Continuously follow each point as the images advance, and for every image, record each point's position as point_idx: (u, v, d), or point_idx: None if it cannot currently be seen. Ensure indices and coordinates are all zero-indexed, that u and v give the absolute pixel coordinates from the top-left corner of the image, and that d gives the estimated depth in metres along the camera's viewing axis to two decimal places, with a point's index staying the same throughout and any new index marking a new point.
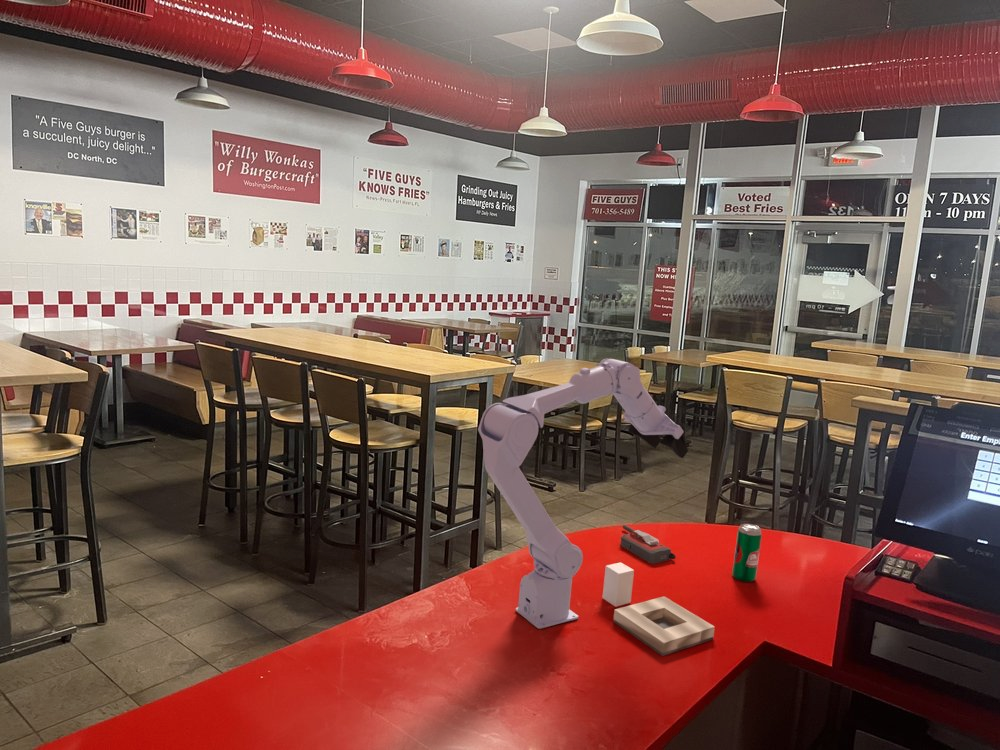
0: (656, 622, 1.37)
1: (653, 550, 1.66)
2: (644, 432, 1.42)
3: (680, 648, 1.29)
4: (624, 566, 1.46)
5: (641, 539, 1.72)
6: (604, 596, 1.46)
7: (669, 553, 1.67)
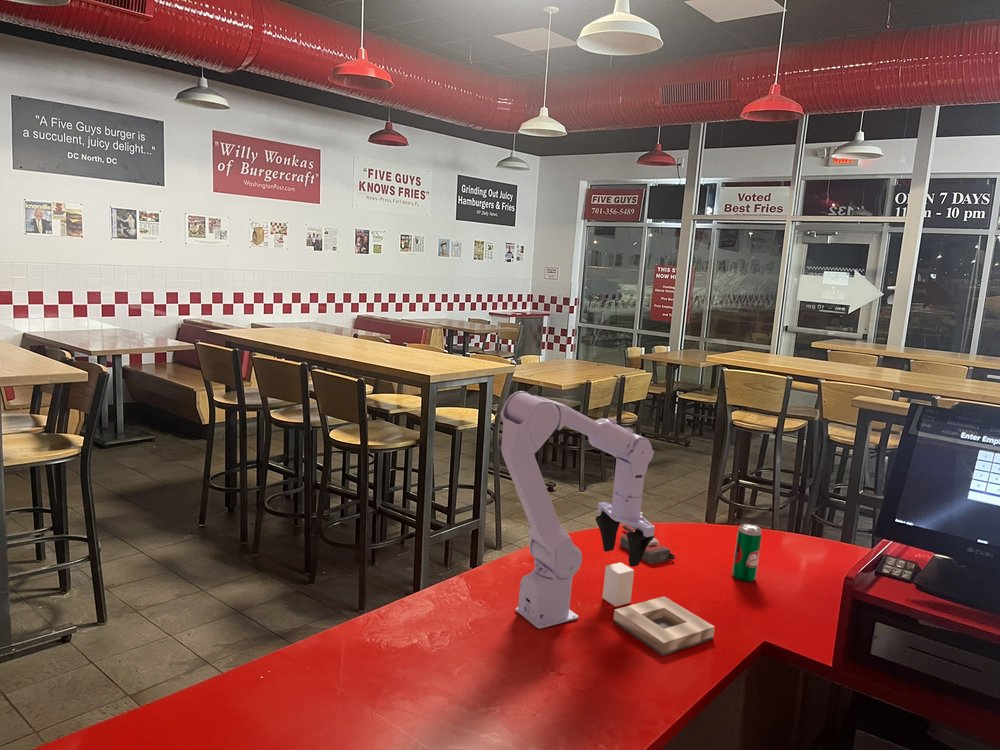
0: (656, 622, 1.37)
1: (652, 550, 1.66)
2: (617, 517, 1.41)
3: (680, 648, 1.29)
4: (624, 566, 1.46)
5: None
6: (604, 596, 1.46)
7: (668, 553, 1.67)
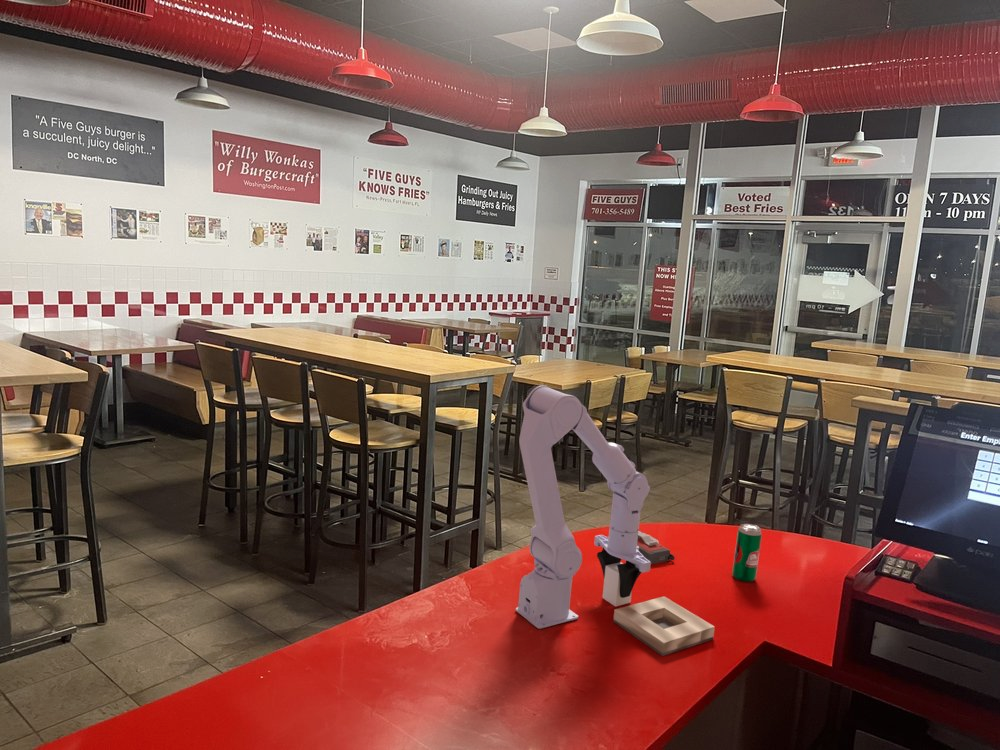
0: (656, 622, 1.37)
1: (652, 551, 1.66)
2: (613, 552, 1.42)
3: (680, 648, 1.29)
4: None
5: (641, 540, 1.72)
6: (604, 596, 1.46)
7: (668, 554, 1.67)
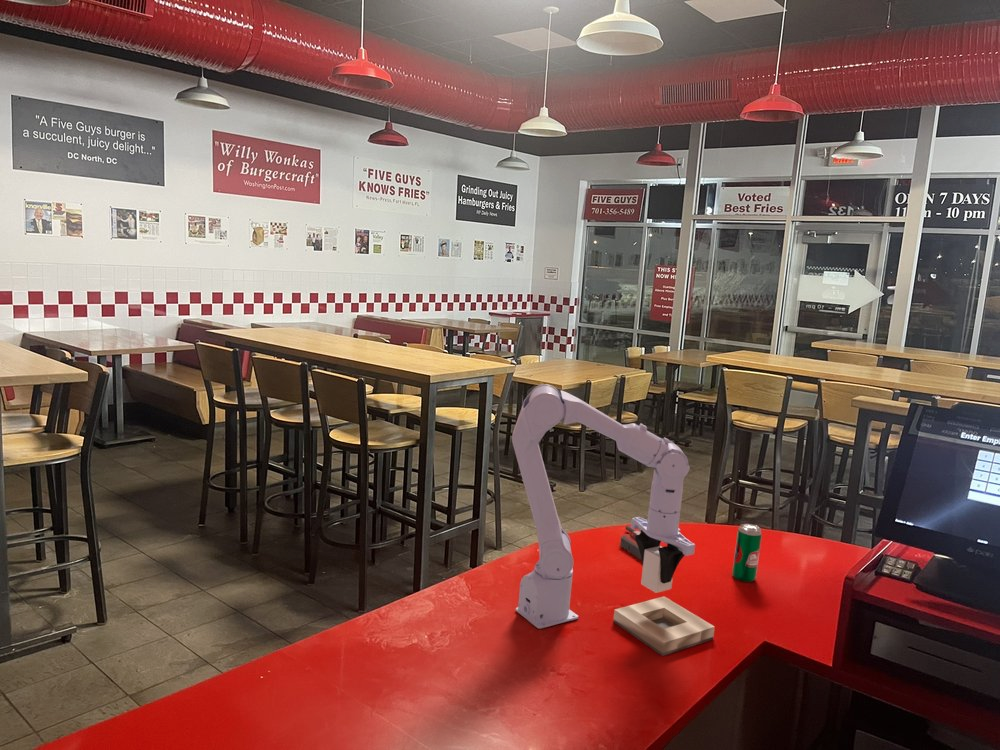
0: (656, 622, 1.37)
1: None
2: (654, 534, 1.32)
3: (680, 648, 1.29)
4: None
5: None
6: (643, 582, 1.36)
7: None
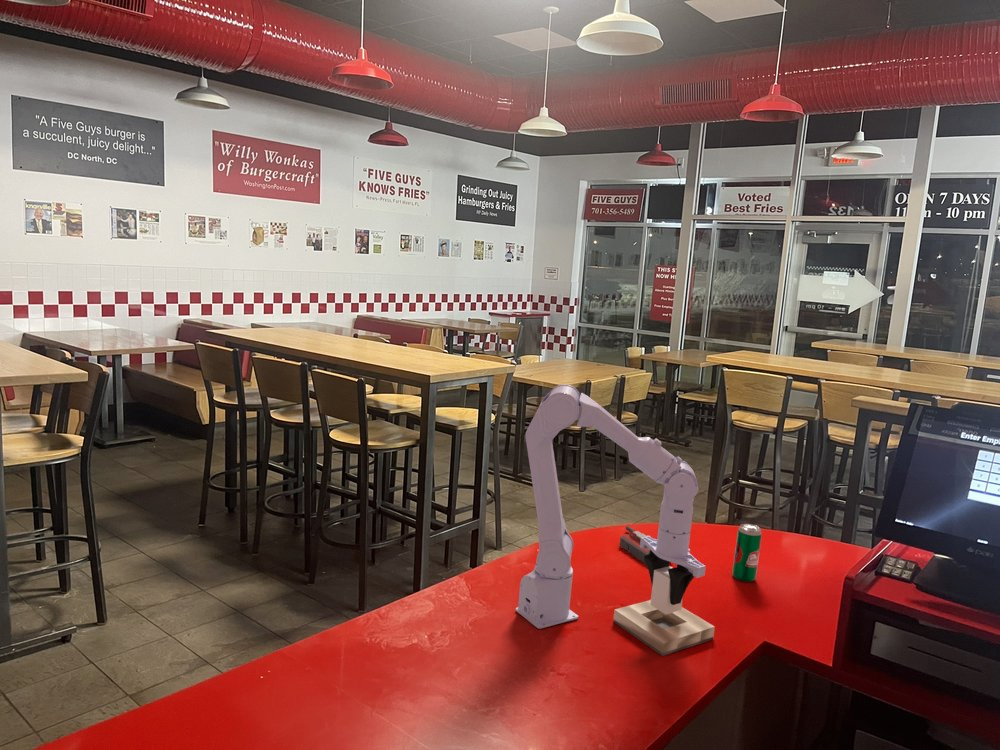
0: (656, 622, 1.37)
1: (649, 551, 1.65)
2: (663, 555, 1.30)
3: (680, 648, 1.29)
4: None
5: (639, 540, 1.71)
6: (652, 603, 1.34)
7: None
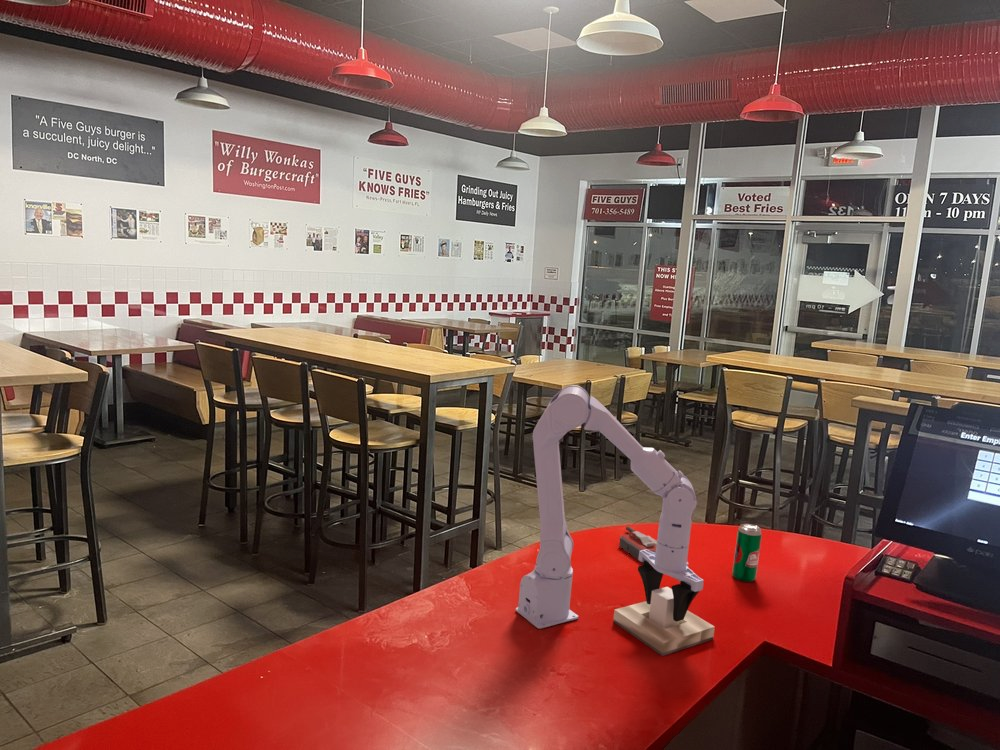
0: None
1: None
2: (662, 569, 1.31)
3: (680, 648, 1.29)
4: (671, 591, 1.35)
5: (639, 540, 1.71)
6: None
7: None
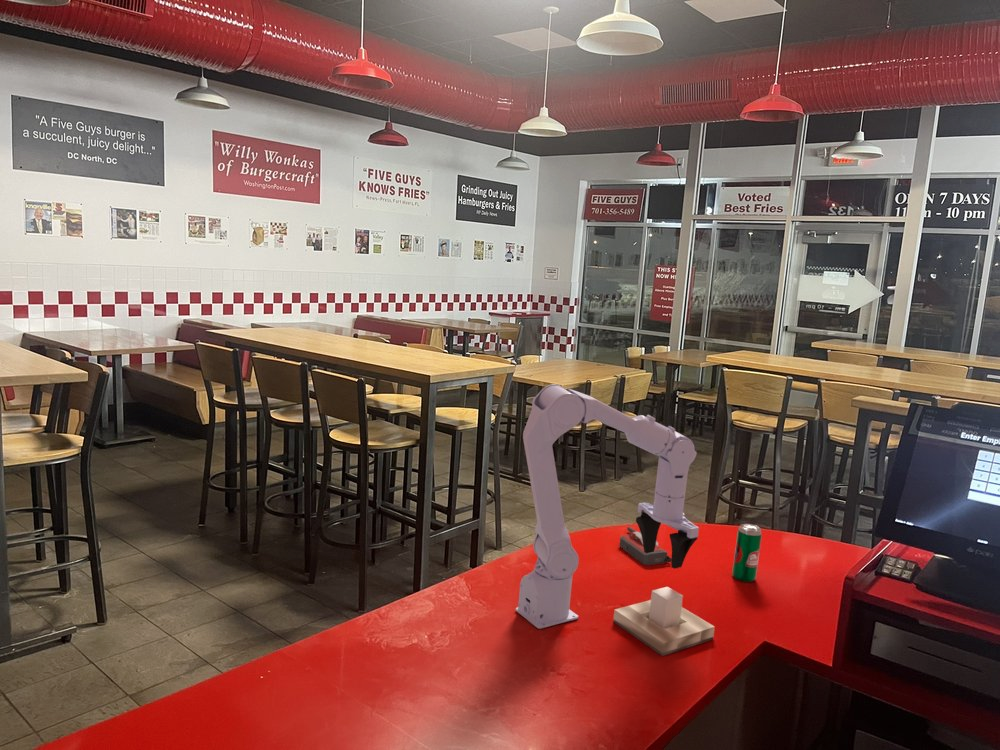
0: None
1: None
2: (659, 518, 1.38)
3: (680, 648, 1.29)
4: (671, 591, 1.35)
5: (639, 541, 1.71)
6: None
7: (665, 556, 1.66)
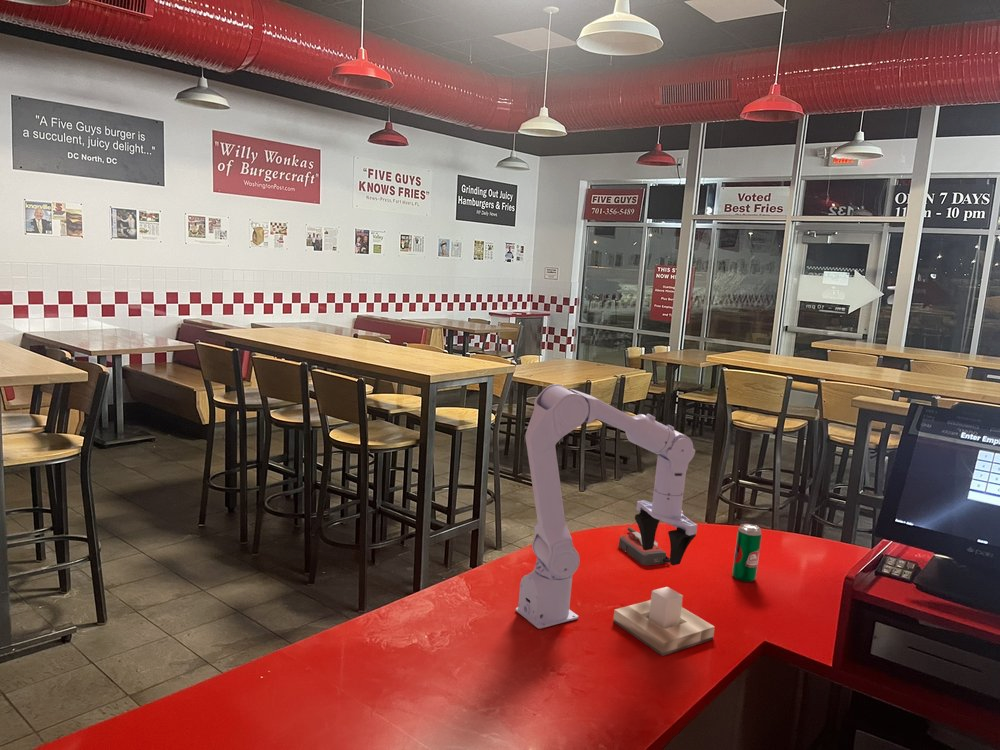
0: None
1: (646, 552, 1.64)
2: (658, 515, 1.40)
3: (680, 648, 1.29)
4: (671, 591, 1.35)
5: (638, 541, 1.71)
6: None
7: (664, 556, 1.65)
